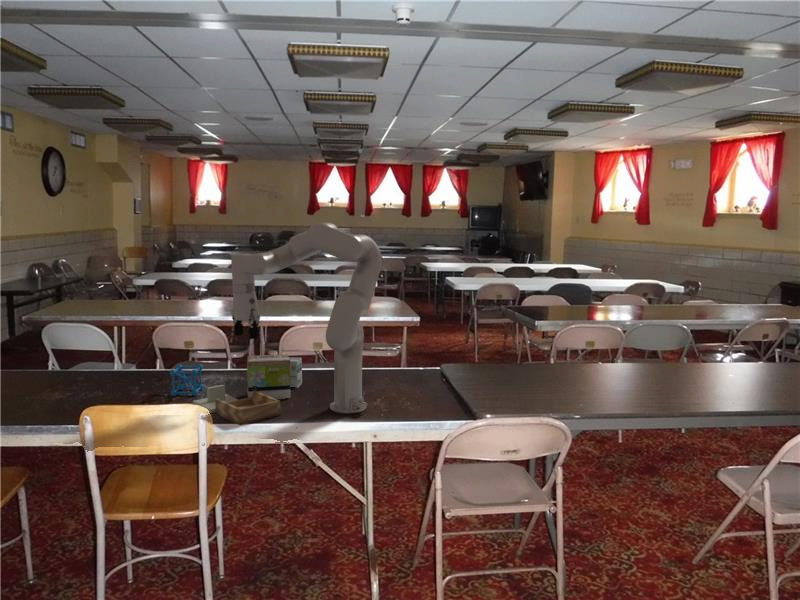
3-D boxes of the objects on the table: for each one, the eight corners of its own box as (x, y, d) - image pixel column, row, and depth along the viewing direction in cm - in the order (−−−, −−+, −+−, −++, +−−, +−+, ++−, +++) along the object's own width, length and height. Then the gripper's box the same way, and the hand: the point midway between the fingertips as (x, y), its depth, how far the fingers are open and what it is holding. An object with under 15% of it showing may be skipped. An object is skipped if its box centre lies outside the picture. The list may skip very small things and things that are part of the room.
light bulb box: (302, 383, 243) (302, 357, 241) (298, 388, 236) (297, 361, 235) (276, 382, 244) (275, 356, 242) (270, 387, 237) (270, 360, 236)
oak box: (280, 415, 204) (280, 400, 204) (239, 425, 194) (239, 410, 194) (255, 404, 216) (255, 390, 215) (215, 413, 206) (215, 399, 205)
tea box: (248, 402, 218) (247, 361, 216) (247, 394, 228) (246, 355, 226) (291, 399, 223) (290, 359, 221) (288, 391, 232) (287, 353, 230)
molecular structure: (204, 389, 234) (203, 363, 233) (197, 396, 224) (196, 370, 223) (177, 389, 233) (176, 363, 232) (169, 397, 224) (168, 370, 222)
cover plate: (243, 404, 213) (243, 388, 212) (210, 412, 205) (209, 395, 204) (225, 396, 223) (225, 380, 222) (193, 403, 214) (192, 386, 213)
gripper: (266, 289, 212) (269, 338, 215) (240, 286, 224) (242, 332, 227) (247, 291, 207) (250, 341, 209) (221, 288, 219) (224, 335, 221)
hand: (246, 336), depth 218 cm, fingers open, 9 cm apart
